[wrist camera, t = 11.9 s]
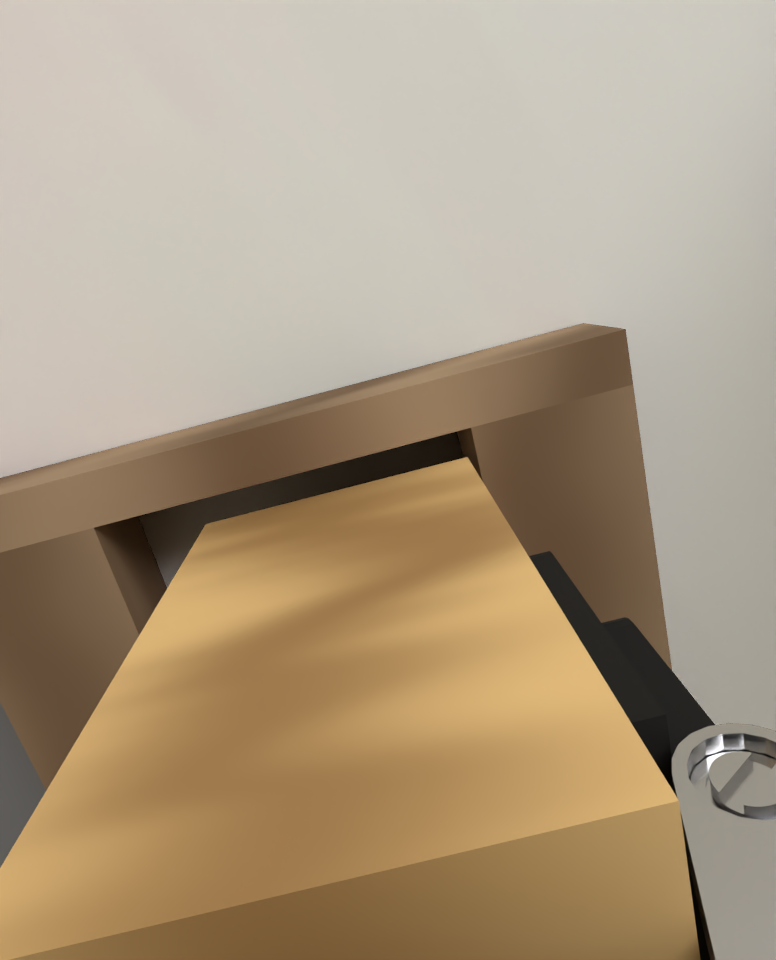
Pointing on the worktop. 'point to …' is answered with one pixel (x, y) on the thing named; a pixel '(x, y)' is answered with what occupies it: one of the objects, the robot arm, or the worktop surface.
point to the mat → (15, 787)
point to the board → (310, 445)
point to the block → (355, 759)
